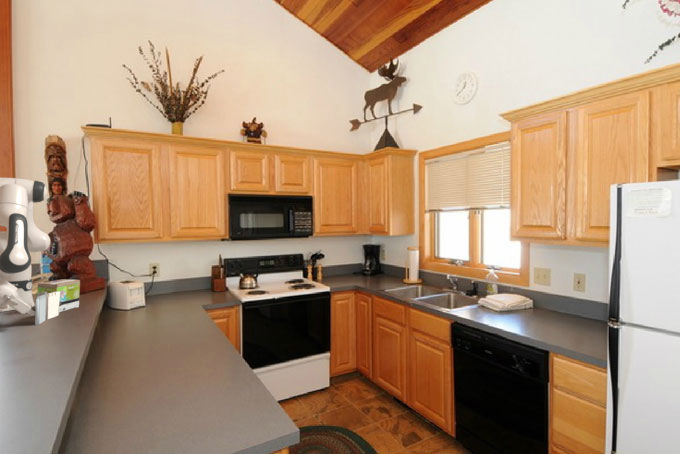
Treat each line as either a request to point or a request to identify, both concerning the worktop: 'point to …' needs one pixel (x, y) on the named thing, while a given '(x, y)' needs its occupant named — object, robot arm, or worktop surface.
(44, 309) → the blue-grey fence panel
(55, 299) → the white fence panel
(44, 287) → the tea box
